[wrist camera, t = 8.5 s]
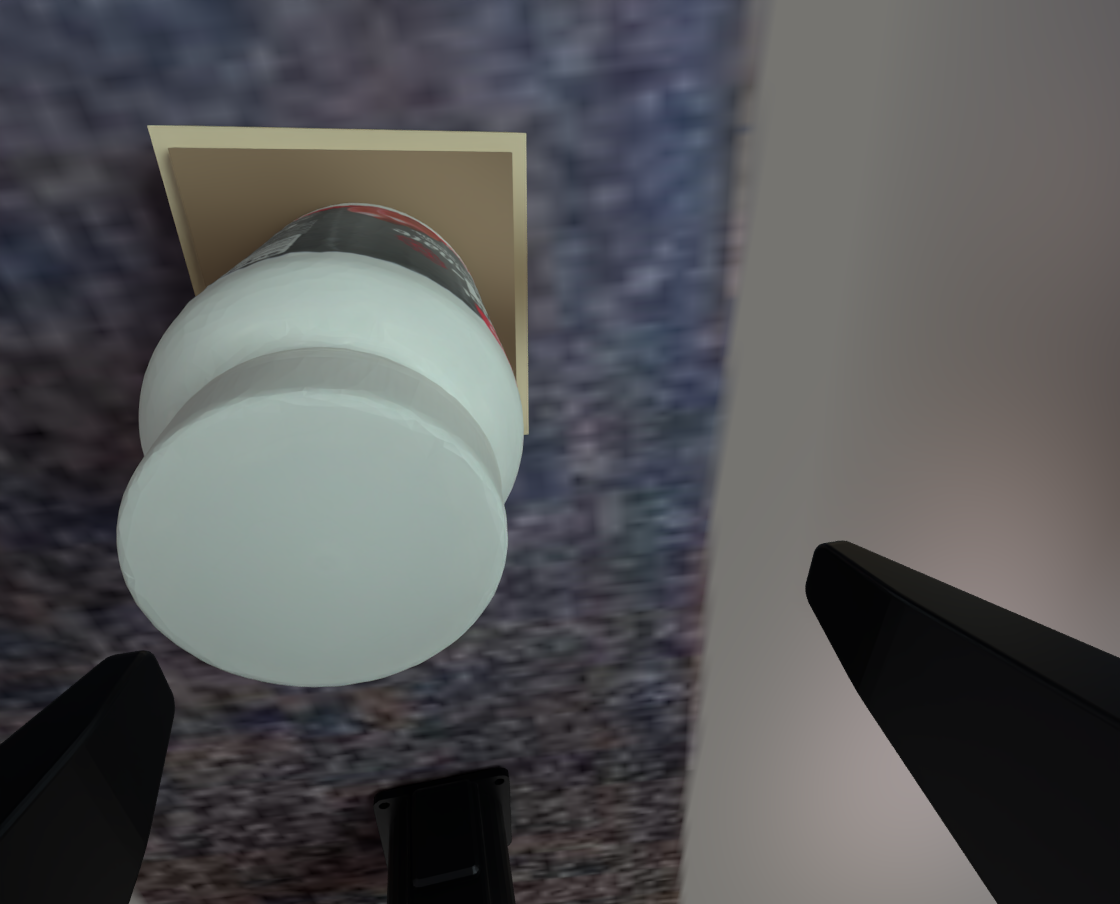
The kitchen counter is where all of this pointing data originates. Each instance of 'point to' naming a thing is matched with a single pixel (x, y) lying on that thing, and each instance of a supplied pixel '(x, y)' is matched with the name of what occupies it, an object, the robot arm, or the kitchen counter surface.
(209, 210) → the plinth
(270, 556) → the pill bottle
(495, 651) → the kitchen counter surface
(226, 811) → the kitchen counter surface
